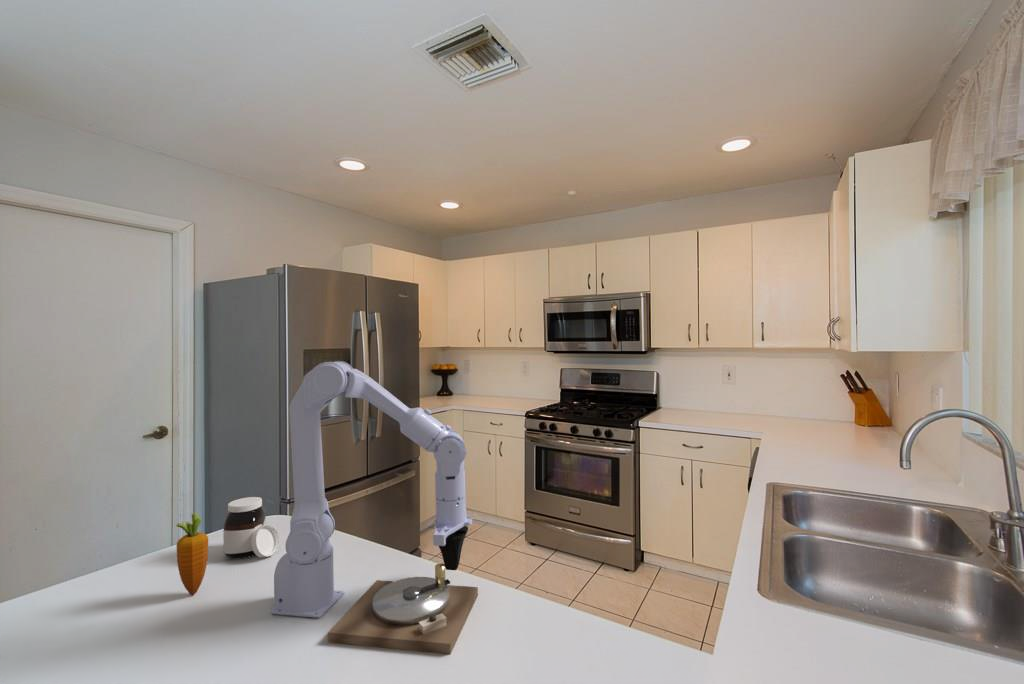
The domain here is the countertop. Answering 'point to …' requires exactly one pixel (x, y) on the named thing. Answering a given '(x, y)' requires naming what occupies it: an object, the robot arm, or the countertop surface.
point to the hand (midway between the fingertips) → (452, 568)
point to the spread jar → (248, 530)
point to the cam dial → (412, 598)
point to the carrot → (192, 555)
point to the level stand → (421, 636)
